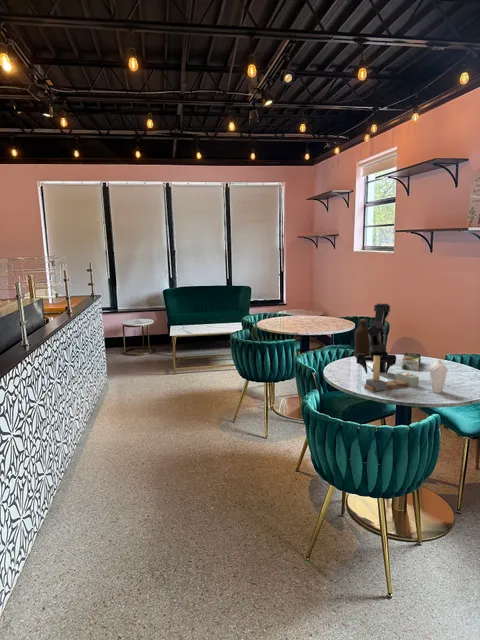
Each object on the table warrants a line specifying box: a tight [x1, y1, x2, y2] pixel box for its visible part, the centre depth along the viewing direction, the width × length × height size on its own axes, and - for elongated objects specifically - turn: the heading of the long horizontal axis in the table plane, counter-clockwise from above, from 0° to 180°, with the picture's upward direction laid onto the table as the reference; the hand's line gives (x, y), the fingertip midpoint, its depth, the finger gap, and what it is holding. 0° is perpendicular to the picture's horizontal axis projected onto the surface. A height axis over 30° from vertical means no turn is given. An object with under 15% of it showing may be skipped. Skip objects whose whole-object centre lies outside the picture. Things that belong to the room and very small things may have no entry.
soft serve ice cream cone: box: [428, 358, 449, 394], centre depth 202 cm, size 8×8×16 cm
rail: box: [364, 379, 409, 393], centre depth 211 cm, size 22×6×2 cm, turn 110°
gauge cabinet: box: [396, 371, 420, 388], centre depth 216 cm, size 5×10×6 cm, turn 20°
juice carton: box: [400, 352, 422, 371], centre depth 250 cm, size 20×10×6 cm, turn 154°
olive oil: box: [353, 318, 370, 359], centre depth 272 cm, size 11×11×25 cm
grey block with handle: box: [365, 355, 387, 392], centre depth 208 cm, size 6×8×16 cm
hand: (376, 373), depth 207 cm, fingers open, 9 cm apart
